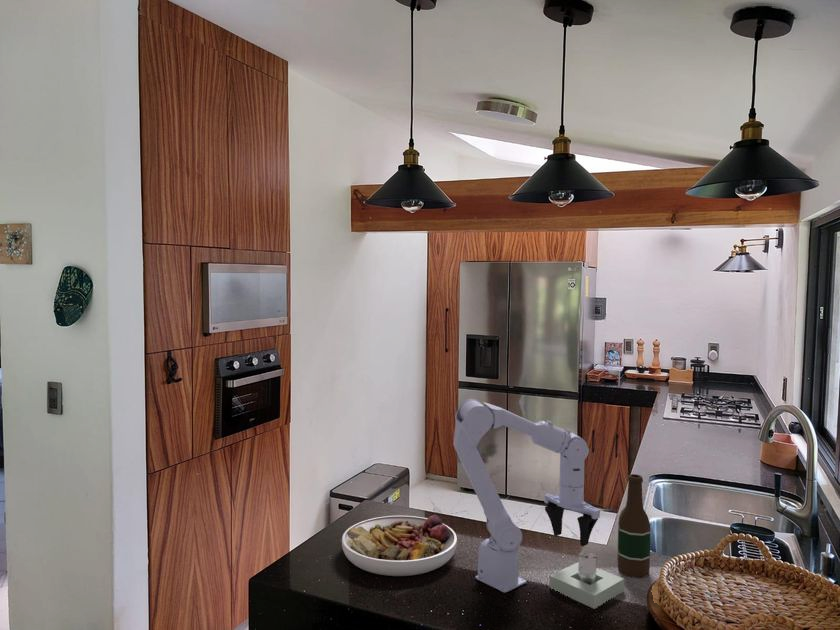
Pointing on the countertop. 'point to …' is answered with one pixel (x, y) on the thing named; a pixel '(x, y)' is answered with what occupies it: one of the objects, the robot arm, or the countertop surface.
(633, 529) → the beer bottle
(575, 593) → the hole block
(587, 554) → the steel peg
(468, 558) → the countertop surface
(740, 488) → the countertop surface
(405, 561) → the bowl
